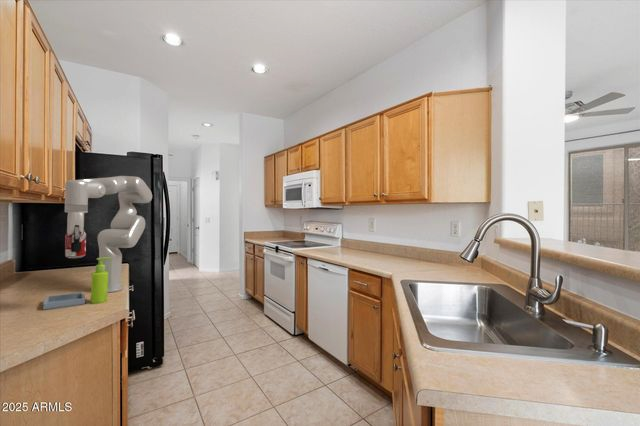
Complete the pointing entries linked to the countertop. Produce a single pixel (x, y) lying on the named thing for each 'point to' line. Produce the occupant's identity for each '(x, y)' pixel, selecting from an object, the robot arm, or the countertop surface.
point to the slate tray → (64, 300)
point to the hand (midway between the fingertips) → (75, 250)
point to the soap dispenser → (99, 283)
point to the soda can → (68, 246)
